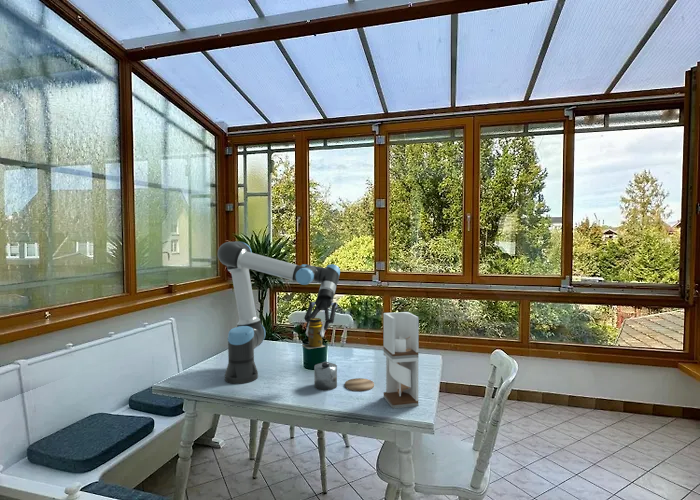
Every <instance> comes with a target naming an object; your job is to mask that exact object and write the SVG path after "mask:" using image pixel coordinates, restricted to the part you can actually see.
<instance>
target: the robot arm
mask: <svg viewBox="0 0 700 500" xmlns="http://www.w3.org/2000/svg"><path fill="white" fill-rule="evenodd" d="M217 259H218V260H219V262H220V263H221V264H222V265H223V266H226V269H227V271H228V272H230V273H231V278H232V285H233V290H234V297H235V301H236V302H235V303H236V308H237V313H238V318H239V319H238V322H237V323H236V326H237V327H236V326H235V327H233V328H231V329H230V330H229V331H228V334H227V348H228V349H227V351H228V352H227V353H228V354H227V355H228V356H227V357H228V358H227V359H228V362H227V363H228V364H227V366H226V369H225V373H224V381H225V382H226V383H228V384H234V383H239V384H246V383H251V382H253V381H256V380H257V379H258V378H259V371H258V368H257V366H256V362H255V349H256V348H257V347H259V346H260V345H262V343H263V342H264V341H265V338H266V328H265V327H264V326H263V325H262V321H261V318H260V317H258V316H257V311H256V305H255V299H254V292H253V289H252V288H253V287H252V282H251V275H250V270H253V271H256V272H260V273H264V274H267V275H270V276H274V277H279V278H282V279H286V280H290V281H293V282H296V283H298V284H299V285H303V286H307V285H309V284H311V283H312V282H314V283H321V284H320V286H319V290H318V293H317V295H316V299H315V301H309V302H308V308H307V310H306V312H305V314H304V317H303V319H304V320H305V322H306V324H305V328H306V331H305V334H306V336H307V337H308V326H309V319H311V318H317V315H318V313H320V311H324V321H323V322H322V324H321V325H322V328H321V332H320V335H321V337H322V338H324V337H325V333H326V331H327V330H328V329H329V325H330V324H333V323H334V322H335V316H336V312H337V311H336V310H337V308H338V303H337V302H333V301H334V297H335V294H336V290H337V285H338V282H339V279H340V274H341V268H340V267H339V266H338V265H336V264H334V263H333V264H332V263H331V264H327V265H326V266H325V267H321V266H315V265H311V264H303V263H302V264H301V265H298V264H295V263H292V262H287V261H284V260H279V259H276V258H272V257H269V256H265V255H262V254H258V253H254V252H252V249H251V246H250V245H248V244H247V243H245V242H244V241H236V240H235V241H226V242H224V243H222V244H221V245H220V246H219V247H218V249H217ZM330 308H331V310H330V315H329V309H330Z"/></svg>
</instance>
